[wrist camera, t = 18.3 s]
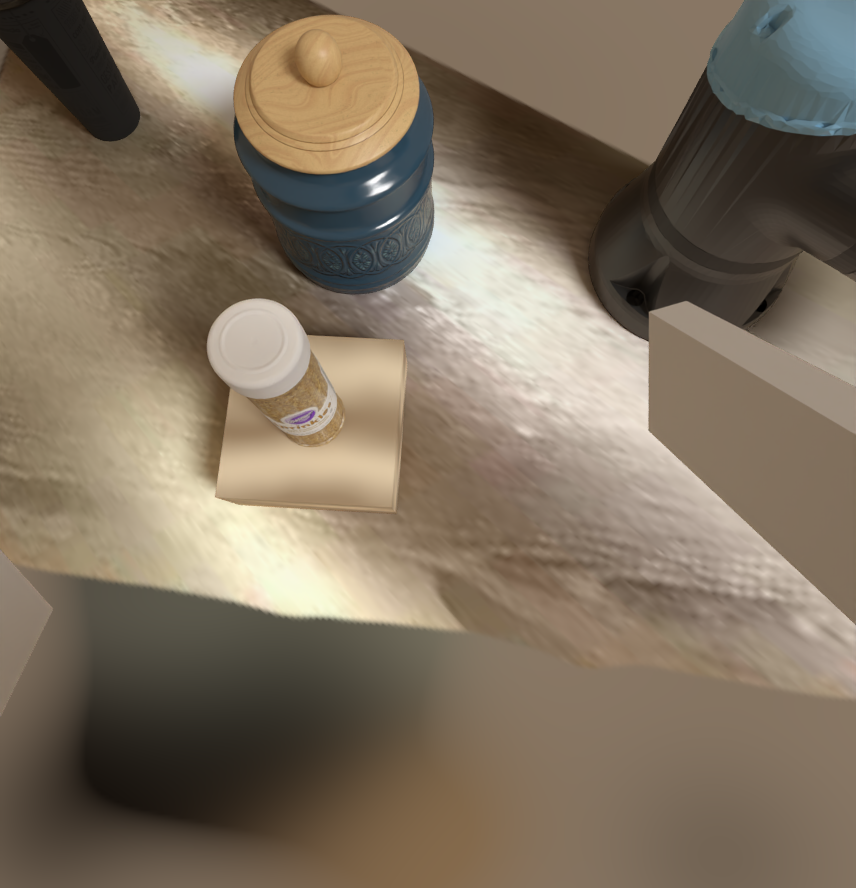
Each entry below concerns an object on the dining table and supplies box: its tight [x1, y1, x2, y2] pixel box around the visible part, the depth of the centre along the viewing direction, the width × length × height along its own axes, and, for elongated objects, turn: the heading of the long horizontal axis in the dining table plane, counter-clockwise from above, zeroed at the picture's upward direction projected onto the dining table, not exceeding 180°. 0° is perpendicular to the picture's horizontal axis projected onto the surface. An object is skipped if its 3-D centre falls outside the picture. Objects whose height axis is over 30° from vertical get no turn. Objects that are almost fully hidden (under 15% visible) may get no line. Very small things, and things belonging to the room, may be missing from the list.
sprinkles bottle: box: [207, 299, 345, 447], centre depth 32 cm, size 5×5×14 cm
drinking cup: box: [0, 0, 140, 141], centre depth 40 cm, size 8×8×20 cm
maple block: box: [215, 335, 407, 514], centre depth 41 cm, size 12×12×5 cm
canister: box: [234, 15, 434, 294], centre depth 39 cm, size 13×13×18 cm
